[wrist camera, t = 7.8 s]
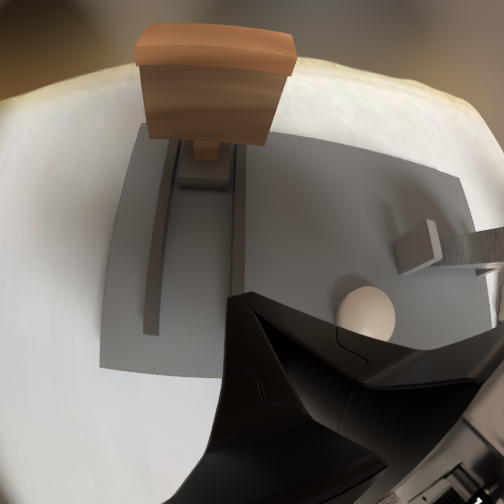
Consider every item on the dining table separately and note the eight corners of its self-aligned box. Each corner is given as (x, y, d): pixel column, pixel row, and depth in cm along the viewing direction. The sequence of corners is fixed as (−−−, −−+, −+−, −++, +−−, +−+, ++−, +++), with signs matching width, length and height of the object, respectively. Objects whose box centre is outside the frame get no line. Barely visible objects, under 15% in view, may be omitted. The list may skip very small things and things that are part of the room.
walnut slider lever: (255, 193, 17) (300, 69, 9) (151, 187, 16) (126, 57, 8) (255, 143, 18) (289, 27, 10) (162, 137, 17) (154, 17, 9)
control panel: (476, 343, 19) (523, 333, 14) (110, 365, 14) (71, 370, 9) (447, 187, 24) (481, 159, 19) (144, 141, 20) (135, 85, 14)
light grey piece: (474, 273, 19) (577, 267, 8) (412, 271, 17) (547, 263, 7) (474, 244, 19) (575, 229, 8) (412, 236, 18) (543, 208, 7)
